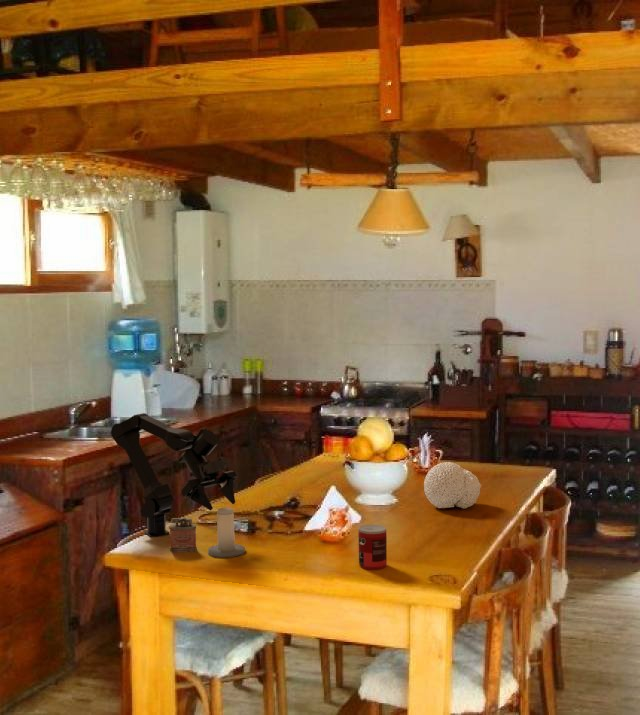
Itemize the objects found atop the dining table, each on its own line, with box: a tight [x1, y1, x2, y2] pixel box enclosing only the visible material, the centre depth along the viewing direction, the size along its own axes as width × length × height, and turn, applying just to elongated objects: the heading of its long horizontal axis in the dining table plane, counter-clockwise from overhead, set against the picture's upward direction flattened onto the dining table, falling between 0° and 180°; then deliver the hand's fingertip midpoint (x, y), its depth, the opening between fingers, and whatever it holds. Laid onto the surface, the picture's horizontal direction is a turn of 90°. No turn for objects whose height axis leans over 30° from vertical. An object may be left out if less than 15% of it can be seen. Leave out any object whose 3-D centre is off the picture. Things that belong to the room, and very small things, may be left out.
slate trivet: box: [207, 543, 246, 559], centre depth 292 cm, size 11×11×1 cm
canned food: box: [357, 524, 388, 571], centre depth 276 cm, size 8×8×11 cm
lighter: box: [168, 516, 198, 553], centre depth 294 cm, size 8×3×10 cm, turn 92°
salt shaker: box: [216, 507, 236, 551], centre depth 291 cm, size 5×5×12 cm
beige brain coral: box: [423, 461, 482, 509], centre depth 340 cm, size 20×18×16 cm
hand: (223, 506), depth 294 cm, fingers open, 9 cm apart
